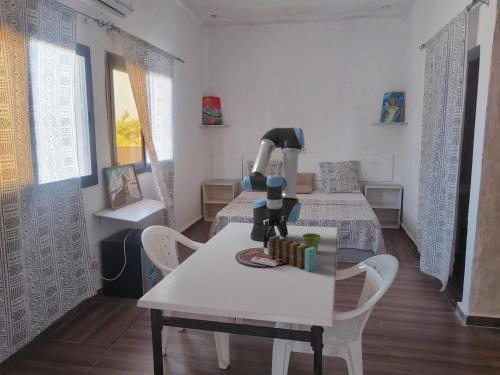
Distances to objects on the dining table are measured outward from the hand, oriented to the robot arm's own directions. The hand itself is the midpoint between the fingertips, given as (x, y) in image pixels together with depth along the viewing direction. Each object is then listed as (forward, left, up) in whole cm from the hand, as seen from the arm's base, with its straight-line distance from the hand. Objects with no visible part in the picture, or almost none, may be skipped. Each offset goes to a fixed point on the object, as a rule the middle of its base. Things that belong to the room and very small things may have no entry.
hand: (274, 251), depth 185 cm
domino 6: (+23, 0, -3) cm, 23 cm away
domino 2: (+5, 0, -3) cm, 5 cm away
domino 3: (+9, 0, -3) cm, 10 cm away
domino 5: (+18, 0, -3) cm, 19 cm away
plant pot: (+8, +19, -3) cm, 21 cm away
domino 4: (+14, 0, -3) cm, 14 cm away
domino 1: (0, 0, -3) cm, 3 cm away
